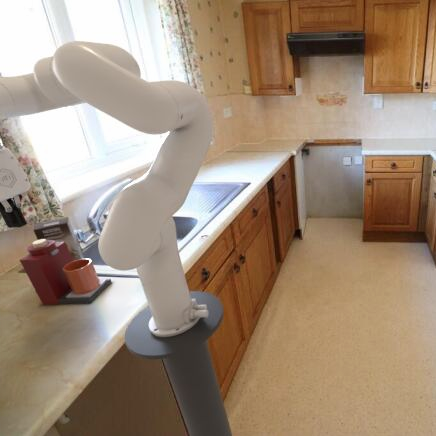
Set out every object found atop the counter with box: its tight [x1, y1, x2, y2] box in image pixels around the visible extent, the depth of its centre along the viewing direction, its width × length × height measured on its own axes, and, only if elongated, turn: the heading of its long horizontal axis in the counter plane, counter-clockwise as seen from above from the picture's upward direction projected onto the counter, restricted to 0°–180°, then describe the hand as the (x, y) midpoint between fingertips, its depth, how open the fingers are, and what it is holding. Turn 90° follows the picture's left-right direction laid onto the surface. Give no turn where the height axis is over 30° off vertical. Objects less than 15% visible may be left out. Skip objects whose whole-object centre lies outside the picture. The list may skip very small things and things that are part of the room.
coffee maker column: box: [19, 240, 73, 306], centre depth 94 cm, size 6×10×17 cm, turn 179°
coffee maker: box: [50, 249, 113, 305], centre depth 94 cm, size 9×10×15 cm
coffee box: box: [33, 216, 85, 261], centre depth 110 cm, size 9×6×16 cm
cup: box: [63, 258, 100, 294], centre depth 95 cm, size 7×7×8 cm
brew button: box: [31, 239, 48, 248], centre depth 90 cm, size 3×3×2 cm
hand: (17, 225), depth 74 cm, fingers closed
